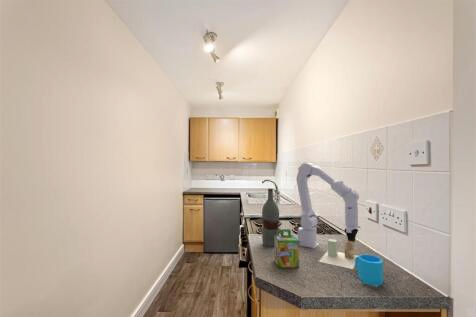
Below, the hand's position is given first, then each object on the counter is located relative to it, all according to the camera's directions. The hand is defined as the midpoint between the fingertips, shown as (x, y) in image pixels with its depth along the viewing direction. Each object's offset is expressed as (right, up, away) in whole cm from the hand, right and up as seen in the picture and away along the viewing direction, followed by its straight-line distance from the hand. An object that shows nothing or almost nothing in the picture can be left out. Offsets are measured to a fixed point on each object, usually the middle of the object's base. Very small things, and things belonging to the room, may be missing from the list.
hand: (351, 244), depth 118 cm
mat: (-8, -5, -6) cm, 12 cm away
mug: (-5, -5, -24) cm, 25 cm away
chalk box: (-34, -5, -10) cm, 36 cm away
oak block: (-3, -4, -4) cm, 7 cm away
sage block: (-10, -4, -2) cm, 11 cm away
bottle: (-37, -5, +15) cm, 40 cm away
